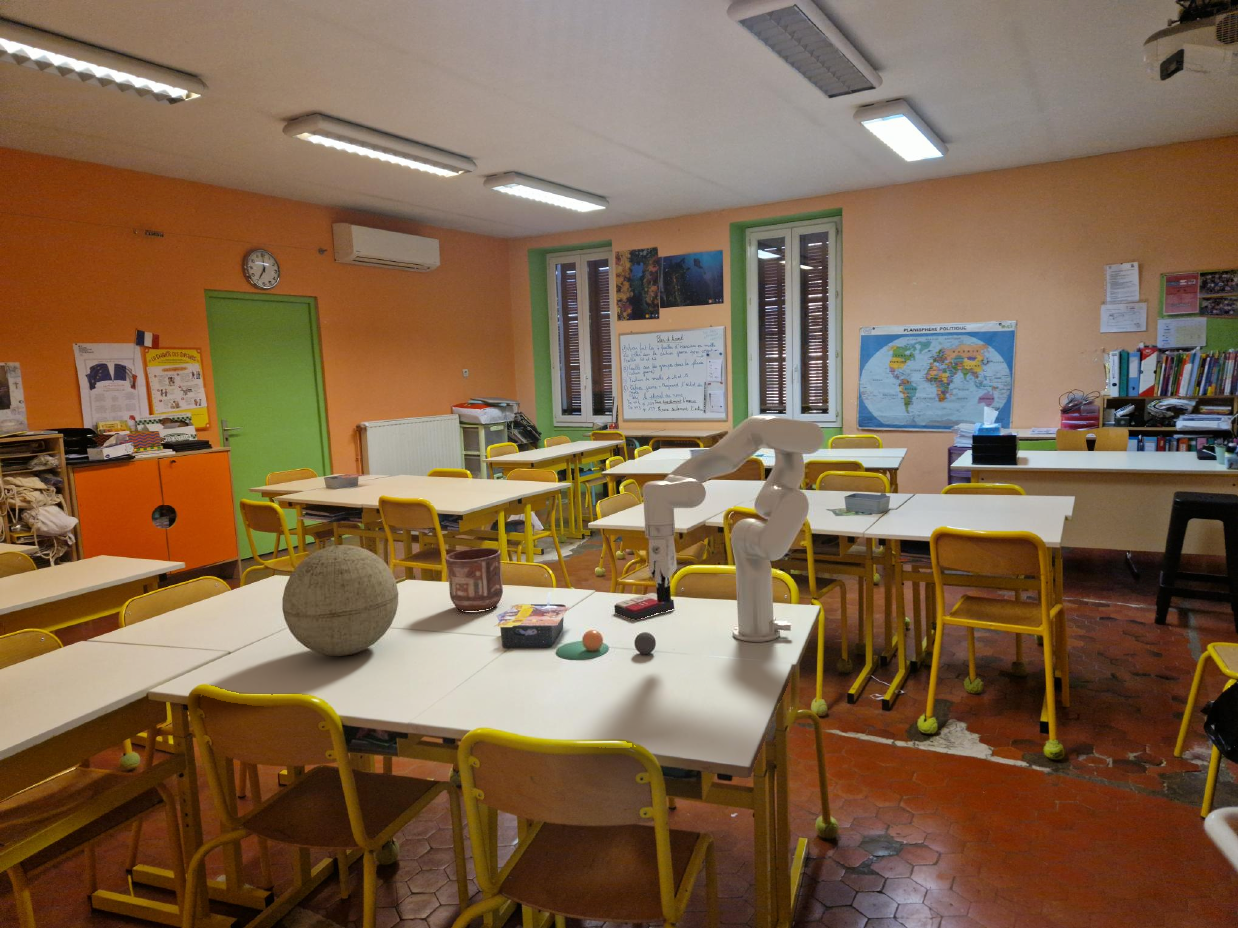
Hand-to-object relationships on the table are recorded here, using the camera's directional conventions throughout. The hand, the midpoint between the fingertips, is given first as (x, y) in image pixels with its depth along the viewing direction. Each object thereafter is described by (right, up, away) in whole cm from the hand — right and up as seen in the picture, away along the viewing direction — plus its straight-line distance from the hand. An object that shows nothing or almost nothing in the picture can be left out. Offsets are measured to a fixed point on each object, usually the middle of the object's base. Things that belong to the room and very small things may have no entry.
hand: (664, 601), depth 191 cm
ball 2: (-5, -11, +3) cm, 13 cm away
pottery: (-58, -12, +54) cm, 80 cm away
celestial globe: (-87, -18, +18) cm, 90 cm away
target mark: (-21, -15, +8) cm, 27 cm away
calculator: (-4, -11, +39) cm, 41 cm away
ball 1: (-18, -12, +7) cm, 23 cm away
